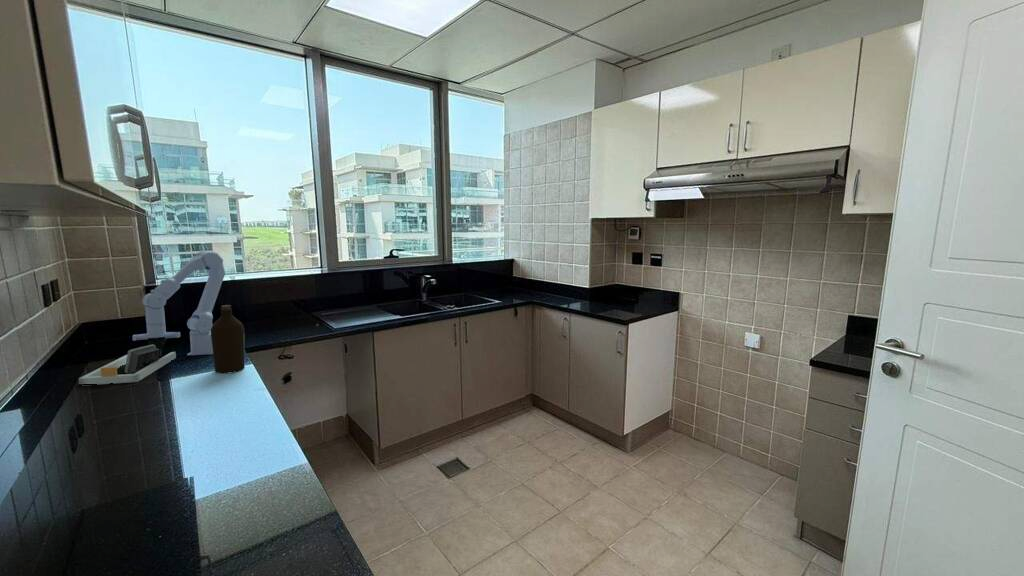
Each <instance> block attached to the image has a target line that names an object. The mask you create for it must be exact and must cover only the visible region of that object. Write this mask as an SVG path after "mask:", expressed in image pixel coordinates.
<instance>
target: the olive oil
mask: <svg viewBox="0 0 1024 576" xmlns="http://www.w3.org/2000/svg"><path fill="white" fill-rule="evenodd" d="M220 308H221V309H220V313H221V315H220V317H219V318H218V319H217V320H216V321H215V322H214V323H212V328H211V340H212V348H213V354H212V356H213V364H214V365H213V366H214V371H215V373H217V374H229V373H228V372H232V373H235V372H234V371H237V372H239V371H238V370H240V371H242V370H244V369H245V327H244V325H243V323H242V321H240V320H239V319H238V318H236V317H235V316H234V315H233V309H232V305H231V304H225V305H220ZM243 368H244V369H243ZM241 369H242V370H241Z"/></svg>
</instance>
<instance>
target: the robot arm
mask: <svg viewBox="0 0 1024 576" xmlns="http://www.w3.org/2000/svg"><path fill="white" fill-rule="evenodd" d="M201 269H204V270H205V271H206V272H207V273H208V277H207V280H206V283H205V286H204V289H203V291H202V295H201V297H200V300H199V302H198V306H197V308H196V309H195V311H193V313H192V315H191V317H190V318H188V320H187V321H186V326H187V328H188V329H189V330H190V331H189V340H190V341H189V342H190V352H188V353H187V354H186V356H201V355H202V356H203V355H204V356H206V355H213V348H212V340H211V328H212V326H213V319H214V316H213V313H212V312H213V310H214V307H215V303H216V300H217V298H218V295H219V293H220V289H221V288H222V283H223V281H224V278H225V275H226V271H225V268H224V259H223V258H222V256H221V255H220V254H219V253H218V252H215V251H208V250H207V251H206V250H200V251H199V252H198V253H196V255H193V256H192V257H191V259H189V260H188V261H187V262H186V264H184V266H182V267H181V269H179V270H178V272H176V273H175V274H174V276H173V277H169V278H165V279H162V280H161V281H160V282H159V283H160V284H158V285H157V286H156V287H154V289H151V290H150V293H147V294H145V295H144V296H143V298H142V300H141V304H142V305H143V306H144V308H145V313H144V314H145V322H146V323H145V324H146V325H145V326H146V333H141V334H140V333H139V334H133V335H132V341H134V342H135V341H140V340H141V341H143V340H147V341H146V343H147V344H148V345H152V344H153V345H155V348H157V349H159V355H158V358H161V357H162V354H163V348H164V346H165V344H166V341H167V339H173V338H174V339H175V338H178V339H179V338H180V337H181V331H177V332H176V331H167V330H166V329H167V327H166V317H165V316H166V315H165V307H164V306H166V305H167V300H169V299H170V298H171V297H172V296H173V295H174V294H175V293H176V292H177V291H179V289H180V288H181V283H182V282H183V281H185V279H187V278H188V277H190V275H192V273H194V272H196V270H201Z"/></svg>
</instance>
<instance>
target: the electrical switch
mask: <svg viewBox="0 0 1024 576" xmlns="http://www.w3.org/2000/svg"><path fill="white" fill-rule="evenodd" d="M126 355H127V360H126V364H125V367H124V373H126V374H135V373H136V372H138V371H140V370H142V369H143V368H145V367H147V366H148V365H150V364H152V363H153V362H155V361H157V360H159V357H158V355H159V349H157V348H155V345H153V344H152V345H149V344H148V345H144V346H140V347H137V348H135V347H134V348H132V349H129V350H128V351H127V354H126Z"/></svg>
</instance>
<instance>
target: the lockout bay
mask: <svg viewBox="0 0 1024 576" xmlns="http://www.w3.org/2000/svg"><path fill="white" fill-rule="evenodd" d="M176 358H177V353H176V351H171V352H169V353H168V354H166V355H164V356H161V357H159V358H158V360H157V361H155V362H153V363H152V364H150V365H148V366H147V367H145V368H143V369H142V370H140V371H138V372H136V373H135V374H134V373H126V374H118V369H119V368H120V366H121V367H123V366H124V365H126V360H127V354H125V355H123V356H121V357H119V358H118V359H116V360H114V361H111V362H109V363H107V364H105V365H103V366H101V367H99V368H97V369H95V370H92V371H91V372H88V373H87V374H85V375H83V376H81V377H79V378H78V385H79V384H97V385H109V384H110V383H113V384H123V383H124V384H126V383H128V384H129V383H137V382H139V381H141V380H143V379H144V378H146V377H148V376H149V375H151V374H152V373H154V372H155V371H158V370H159V369H161V368H163V367H164V366H165V365H166V364H168V363H170V362H171V360H172V361H173V360H175V359H176ZM122 365H123V366H122Z"/></svg>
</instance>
